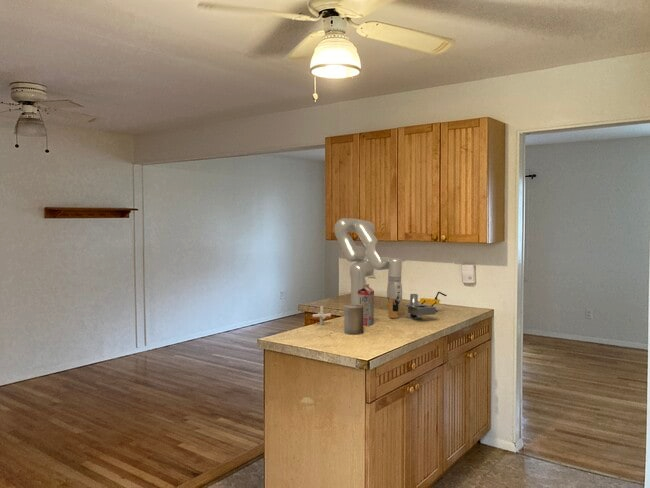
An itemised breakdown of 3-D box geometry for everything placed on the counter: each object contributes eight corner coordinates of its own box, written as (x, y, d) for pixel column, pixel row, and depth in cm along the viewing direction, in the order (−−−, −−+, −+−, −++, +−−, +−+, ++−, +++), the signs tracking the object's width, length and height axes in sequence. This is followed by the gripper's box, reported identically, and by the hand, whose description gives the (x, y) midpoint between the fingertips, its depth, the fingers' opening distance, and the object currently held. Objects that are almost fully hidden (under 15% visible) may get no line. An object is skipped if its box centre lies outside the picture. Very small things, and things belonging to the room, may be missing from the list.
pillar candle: (367, 332, 255) (367, 303, 254) (354, 335, 248) (354, 305, 248) (353, 329, 262) (353, 301, 261) (340, 332, 255) (340, 303, 255)
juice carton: (373, 324, 276) (374, 284, 275) (368, 326, 270) (368, 285, 269) (362, 323, 279) (363, 283, 278) (357, 325, 274) (357, 284, 273)
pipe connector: (314, 326, 268) (315, 308, 267) (310, 323, 277) (310, 305, 277) (332, 326, 271) (333, 307, 270) (327, 322, 280) (328, 304, 280)
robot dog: (445, 314, 309) (445, 292, 308) (417, 311, 318) (417, 290, 317) (447, 312, 314) (448, 291, 313) (419, 310, 323) (420, 289, 322)
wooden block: (392, 317, 291) (392, 297, 290) (388, 316, 294) (389, 295, 294) (397, 317, 292) (398, 296, 292) (394, 315, 296) (395, 295, 295)
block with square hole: (417, 322, 282) (418, 297, 281) (400, 317, 298) (400, 293, 297) (435, 321, 286) (435, 296, 286) (417, 315, 303) (417, 292, 302)
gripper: (408, 281, 286) (406, 313, 287) (392, 277, 301) (391, 307, 302) (396, 281, 283) (395, 313, 284) (381, 277, 298) (380, 308, 299)
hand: (393, 310), depth 293 cm, fingers closed on wooden block, 4 cm apart
